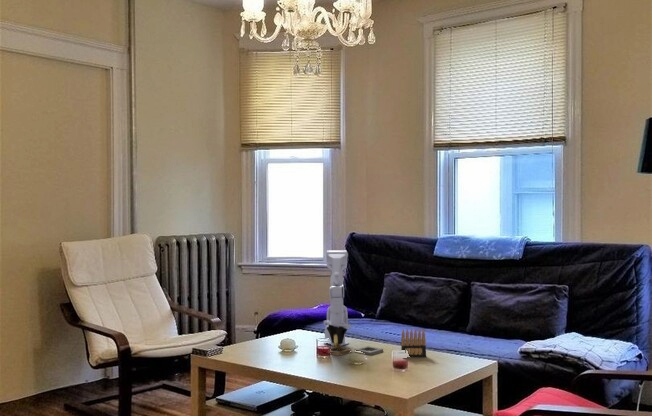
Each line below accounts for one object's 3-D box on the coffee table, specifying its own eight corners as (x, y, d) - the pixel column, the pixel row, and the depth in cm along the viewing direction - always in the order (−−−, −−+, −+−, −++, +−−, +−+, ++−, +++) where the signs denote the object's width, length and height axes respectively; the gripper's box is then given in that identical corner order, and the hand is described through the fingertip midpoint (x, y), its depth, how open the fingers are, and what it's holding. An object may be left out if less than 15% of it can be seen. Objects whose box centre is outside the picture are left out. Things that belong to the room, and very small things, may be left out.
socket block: (354, 352, 291) (354, 349, 291) (367, 348, 298) (367, 346, 298) (370, 355, 285) (370, 352, 285) (383, 351, 292) (383, 349, 292)
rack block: (322, 352, 291) (322, 349, 291) (336, 349, 298) (336, 346, 298) (337, 355, 285) (337, 353, 285) (351, 352, 291) (351, 349, 291)
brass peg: (332, 348, 291) (332, 333, 291) (337, 347, 293) (337, 332, 293) (336, 349, 289) (336, 334, 289) (342, 348, 291) (342, 333, 291)
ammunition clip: (425, 356, 283) (425, 328, 283) (426, 357, 281) (426, 329, 281) (400, 356, 283) (400, 328, 282) (401, 357, 281) (401, 329, 281)
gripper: (318, 311, 293) (319, 342, 293) (342, 315, 283) (343, 347, 283) (329, 309, 298) (330, 339, 298) (353, 313, 288) (353, 344, 288)
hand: (337, 343), depth 291 cm, fingers closed on brass peg, 3 cm apart
